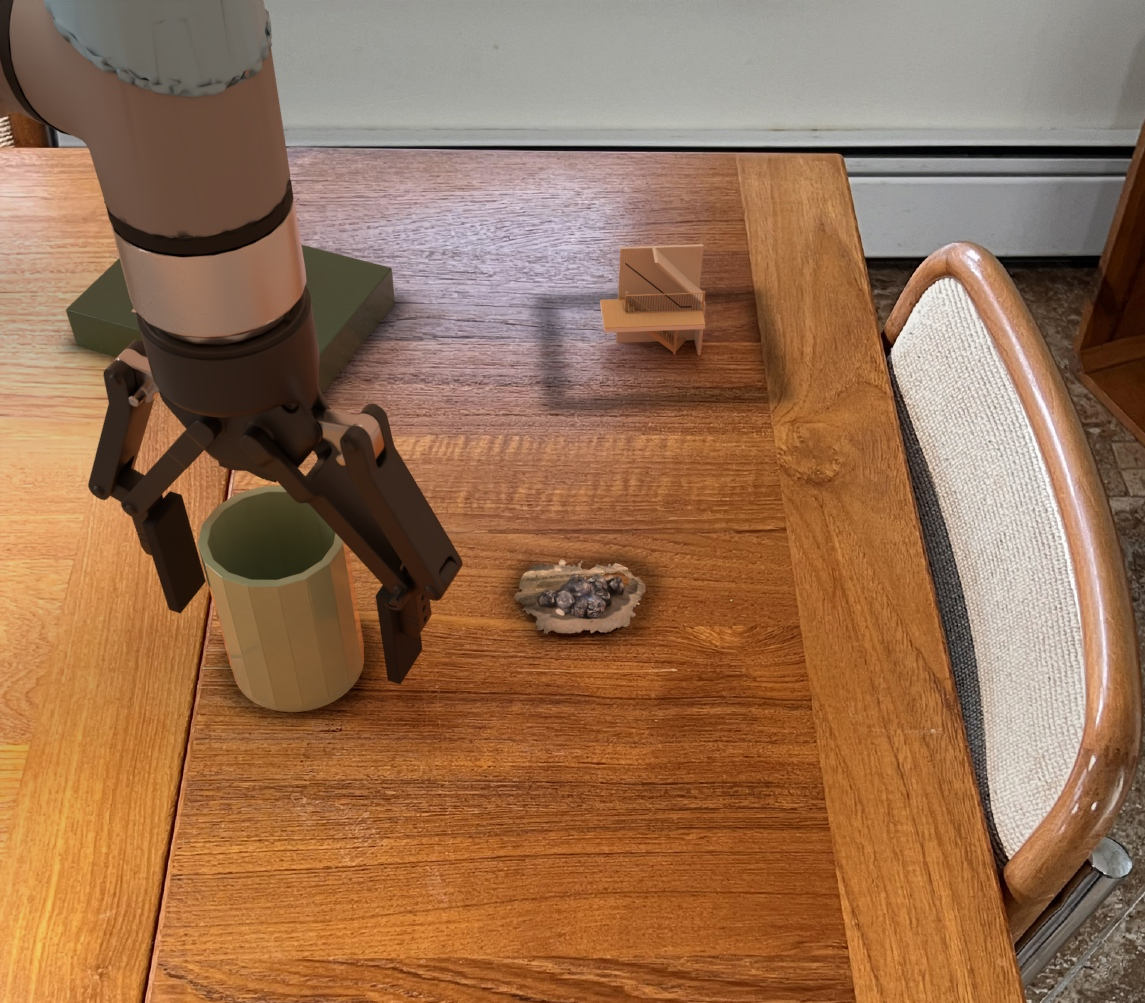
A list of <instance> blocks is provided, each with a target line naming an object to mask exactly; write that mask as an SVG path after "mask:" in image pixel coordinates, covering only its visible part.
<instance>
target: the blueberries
mask: <svg viewBox="0 0 1145 1003" xmlns="http://www.w3.org/2000/svg"><path fill="white" fill-rule="evenodd" d="M583 562H584V560H581V561H580V562H579V563H577V566H576V565H575V564H572V566H571V565H569V564H568V565H566V564H567V562H566V560H565V559H559V562H558V564H554V563H551V564H544V563H539V564H538V565H530V567H531V568H528V569H527V570H526V571H525V572H523V574H522V576H521V578H520V581H519V583H518V586H519V587H518V589H519V590H521V591H517V592H516V593H514V596H513V599H514V600H516V602H517V603H520V604H521V605H523V608H521V611H525V613H526V614H527V615H530V614H532V616H534V617H535V618H536V620H535V624H534V626H536V627H537V628H536V631H542V630H544V631H543V634H549V632H551V631H552V632H553V631H554V632H555V633H556V634H559V633H560V634H575V633H577V634H578V633H582V632H583V631H589V632H590V633H591V634H593V633H595V632H596V631H598V632H600V633H608V632H609V633H611V632H612V631H613V630H615V629H616V628H617V629H620V628H622V627H623V628H627V627H629V626H630V625H631V617H632V618H634V617H636V616H637V614H636V613H635V612H634V608H636V607H637V606H640V605H641V603H640V602H639V601H641V600H642V598H643V594H645V593H646V592H647V591H646V590H647V589H646V588H647V586H646V583H645V582H644V581H643V580H642V579H641V578H640V577H639V576H635V575H633V572H631V571H629V568H628V567H627V566H624V565H622V564H619V563H616V562H615V563H614V564H612V565H611V563H608V565H601V564H598V563H597V564H595V565H594V567H591V568H590V569H586V568H582V564H583ZM614 573H619V574H620V573H622V574H623V575H625V577H627V578H628V579H629V581H628V584H627V585H625V584H624V581H623V579H622V577H621V576H614V575H611V574H614ZM606 574H608V576H607V577H606V576H604V575H606ZM587 577H589V578H587Z"/></svg>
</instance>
